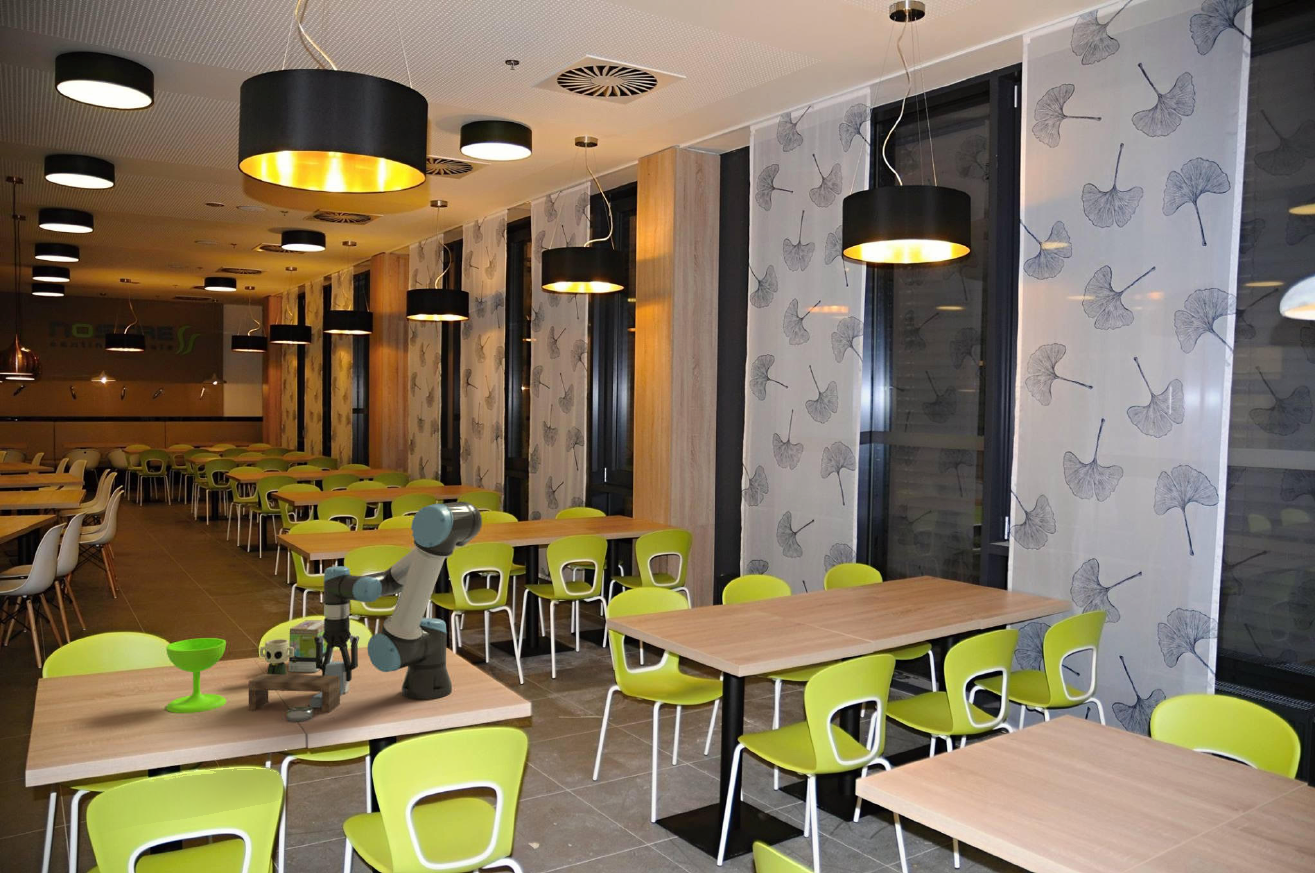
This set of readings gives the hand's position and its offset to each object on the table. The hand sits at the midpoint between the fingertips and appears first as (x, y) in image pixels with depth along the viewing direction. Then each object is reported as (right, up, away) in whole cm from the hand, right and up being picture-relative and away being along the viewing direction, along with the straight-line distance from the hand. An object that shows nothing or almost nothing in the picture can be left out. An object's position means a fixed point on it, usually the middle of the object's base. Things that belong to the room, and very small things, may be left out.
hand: (336, 691), depth 294 cm
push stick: (0, 0, -7) cm, 7 cm away
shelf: (-7, -1, -16) cm, 17 cm away
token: (-2, -1, -26) cm, 26 cm away
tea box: (-19, 0, +30) cm, 36 cm away
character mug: (-23, 0, +12) cm, 26 cm away
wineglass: (-37, -1, -14) cm, 39 cm away
